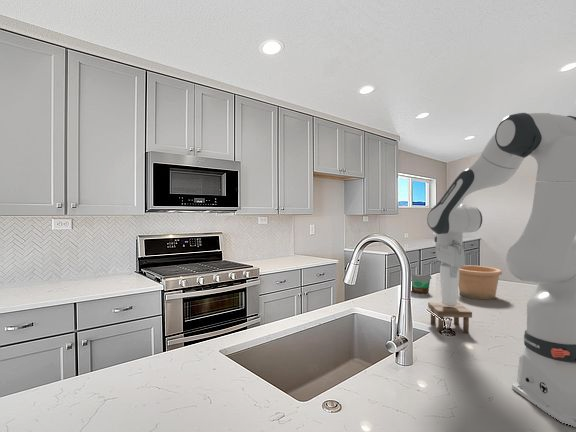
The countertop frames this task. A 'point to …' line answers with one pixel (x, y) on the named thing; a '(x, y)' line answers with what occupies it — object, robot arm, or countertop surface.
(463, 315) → the walnut stool
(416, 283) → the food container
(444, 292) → the drinking glass
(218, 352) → the countertop surface
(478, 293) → the pottery
